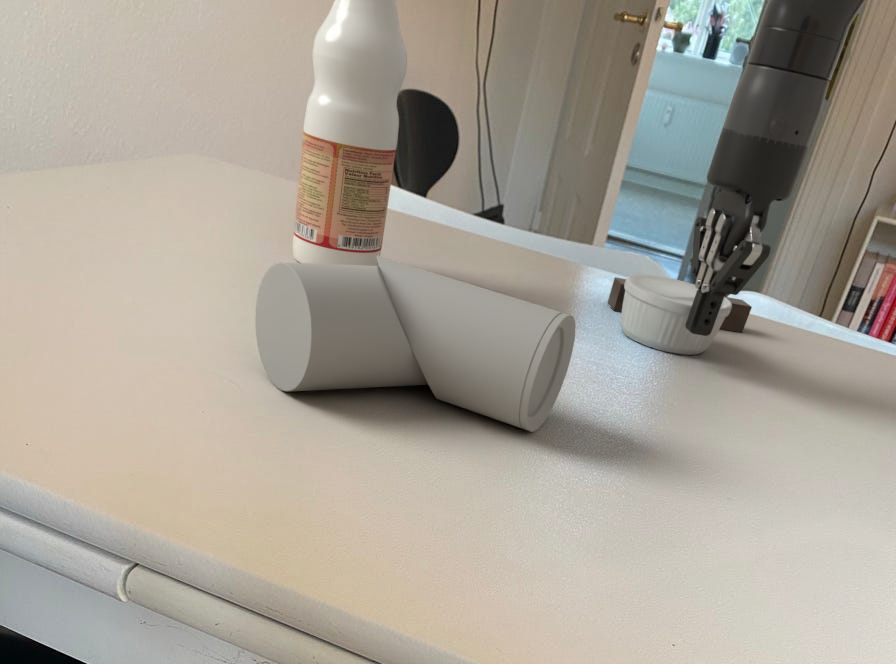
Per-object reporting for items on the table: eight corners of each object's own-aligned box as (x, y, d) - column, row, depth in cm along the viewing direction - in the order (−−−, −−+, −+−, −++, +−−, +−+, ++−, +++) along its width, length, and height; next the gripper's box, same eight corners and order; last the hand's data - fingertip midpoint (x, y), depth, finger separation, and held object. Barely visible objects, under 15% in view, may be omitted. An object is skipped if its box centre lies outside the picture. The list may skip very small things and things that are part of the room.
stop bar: (732, 325, 109) (742, 299, 107) (742, 332, 106) (752, 306, 104) (606, 303, 106) (614, 277, 104) (613, 310, 103) (621, 283, 102)
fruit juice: (276, 260, 95) (305, -75, 79) (311, 247, 102) (344, -61, 87) (360, 283, 93) (406, -54, 78) (389, 268, 101) (437, -42, 85)
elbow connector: (452, 335, 79) (240, 338, 68) (495, 215, 72) (265, 197, 61) (569, 462, 70) (347, 488, 59) (631, 340, 63) (391, 345, 52)
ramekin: (702, 367, 90) (722, 313, 87) (598, 334, 93) (613, 281, 90) (723, 346, 99) (741, 297, 96) (627, 317, 102) (641, 268, 99)
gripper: (841, 151, 74) (758, 360, 83) (774, 133, 85) (708, 320, 94) (757, 132, 73) (683, 347, 82) (700, 116, 83) (641, 308, 93)
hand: (696, 332), depth 88 cm, fingers closed
